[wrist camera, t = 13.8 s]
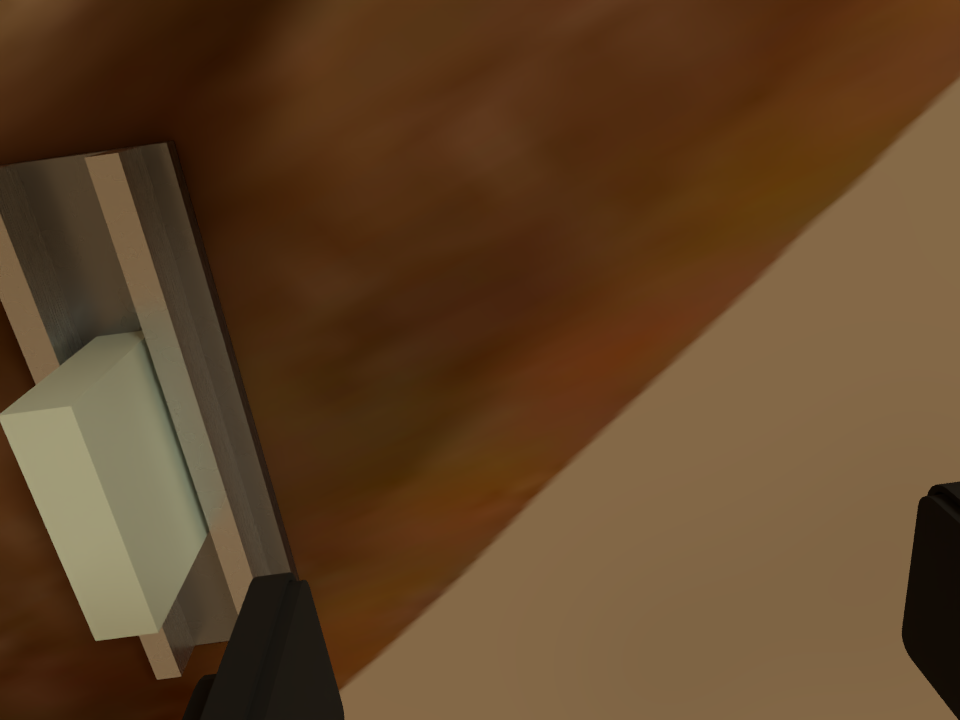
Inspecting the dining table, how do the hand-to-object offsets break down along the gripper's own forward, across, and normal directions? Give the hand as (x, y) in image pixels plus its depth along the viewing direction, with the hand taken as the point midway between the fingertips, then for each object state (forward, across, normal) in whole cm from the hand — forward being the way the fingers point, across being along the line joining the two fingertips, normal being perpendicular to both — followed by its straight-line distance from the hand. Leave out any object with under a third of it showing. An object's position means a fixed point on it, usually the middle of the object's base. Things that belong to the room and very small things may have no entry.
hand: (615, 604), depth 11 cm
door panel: (+27, +20, +9) cm, 35 cm away
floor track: (+28, +20, +9) cm, 36 cm away
